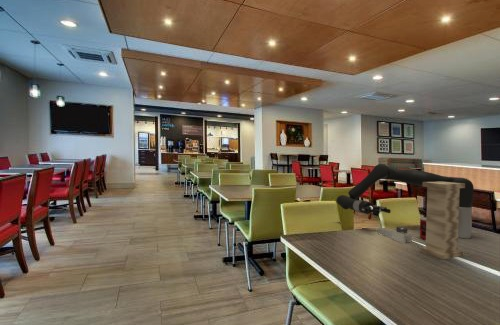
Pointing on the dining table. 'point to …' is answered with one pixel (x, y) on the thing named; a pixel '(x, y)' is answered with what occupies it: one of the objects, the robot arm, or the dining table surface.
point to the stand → (442, 219)
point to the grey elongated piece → (397, 234)
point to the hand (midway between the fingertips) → (384, 211)
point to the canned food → (423, 228)
